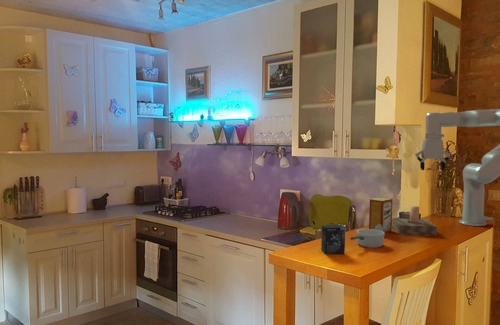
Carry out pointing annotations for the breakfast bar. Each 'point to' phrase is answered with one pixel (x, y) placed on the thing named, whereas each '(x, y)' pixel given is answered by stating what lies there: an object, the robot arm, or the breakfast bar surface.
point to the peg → (414, 214)
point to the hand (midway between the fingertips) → (432, 169)
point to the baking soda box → (380, 212)
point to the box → (333, 239)
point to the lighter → (379, 227)
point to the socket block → (414, 227)
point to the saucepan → (369, 238)
